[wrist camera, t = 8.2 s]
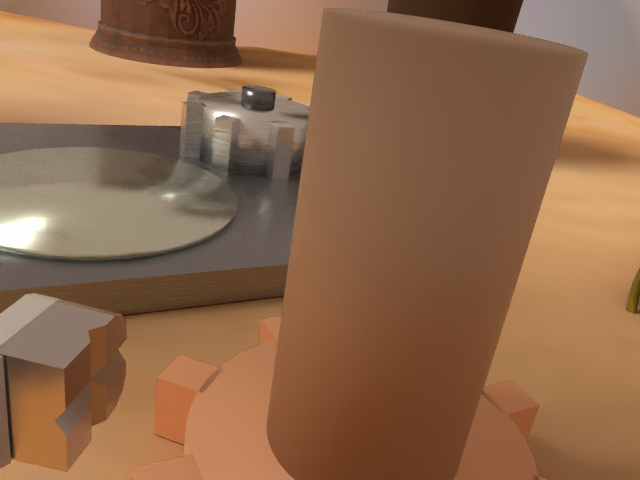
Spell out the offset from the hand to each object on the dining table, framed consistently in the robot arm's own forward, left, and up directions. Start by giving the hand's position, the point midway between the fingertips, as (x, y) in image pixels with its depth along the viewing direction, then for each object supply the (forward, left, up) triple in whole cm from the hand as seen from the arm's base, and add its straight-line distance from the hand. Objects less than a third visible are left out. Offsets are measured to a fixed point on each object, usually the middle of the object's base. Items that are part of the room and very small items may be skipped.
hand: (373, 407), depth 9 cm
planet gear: (+3, +4, -7) cm, 8 cm away
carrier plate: (+2, +24, -7) cm, 25 cm away
